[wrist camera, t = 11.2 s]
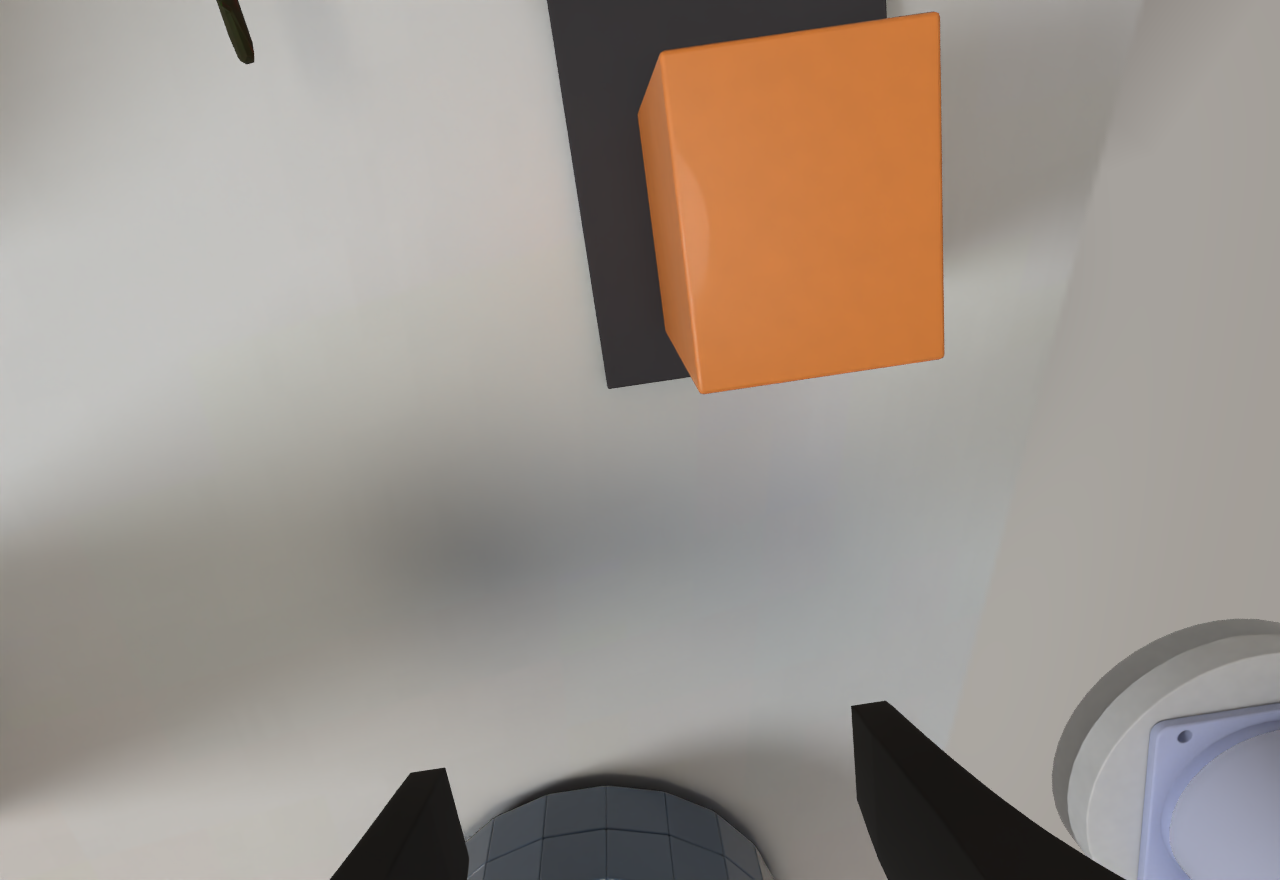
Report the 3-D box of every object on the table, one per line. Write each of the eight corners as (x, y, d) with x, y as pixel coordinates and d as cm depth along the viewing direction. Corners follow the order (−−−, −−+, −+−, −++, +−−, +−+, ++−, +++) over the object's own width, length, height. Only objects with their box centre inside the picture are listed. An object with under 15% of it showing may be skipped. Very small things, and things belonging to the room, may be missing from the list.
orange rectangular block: (814, 85, 18) (942, 8, 11) (828, 309, 20) (946, 359, 13) (636, 111, 18) (658, 49, 11) (665, 333, 19) (699, 396, 13)
